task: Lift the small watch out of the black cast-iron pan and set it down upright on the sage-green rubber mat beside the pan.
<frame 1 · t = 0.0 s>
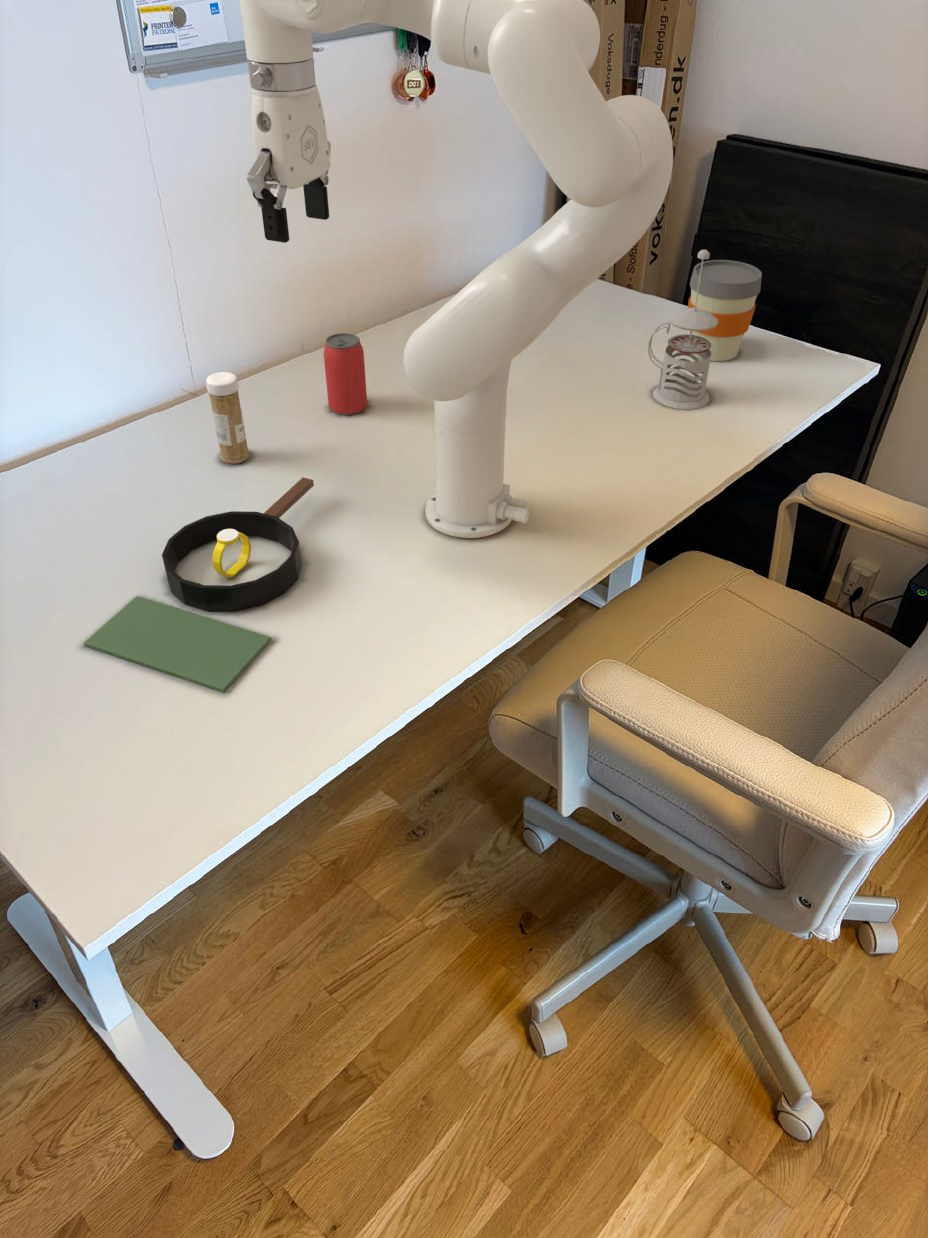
hand: (298, 228, 121), 37 cm above the table, tool pointing down, fingers open, 9 cm apart
sprinkles bottle: (235, 458, 150), on the table
french press: (675, 396, 166), on the table
beer can: (348, 408, 163), on the table
mat: (178, 643, 115), on the table
watch: (235, 572, 127), resting in pan
pan: (235, 571, 127), on the table
reusable coffee cup: (713, 351, 181), on the table
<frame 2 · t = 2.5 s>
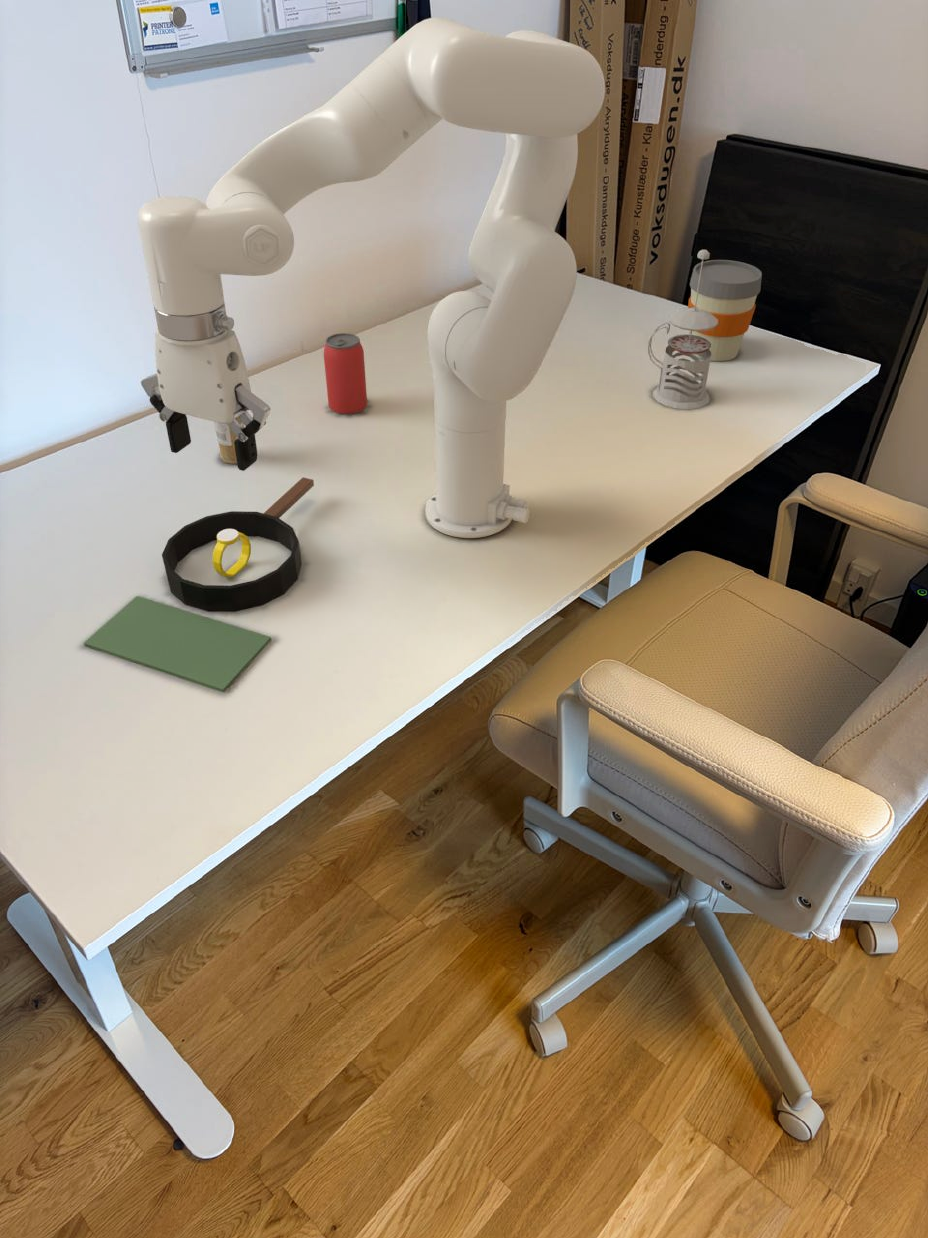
hand: (214, 456, 116), 17 cm above the table, tool pointing down, fingers open, 9 cm apart
nothing on the table moved.
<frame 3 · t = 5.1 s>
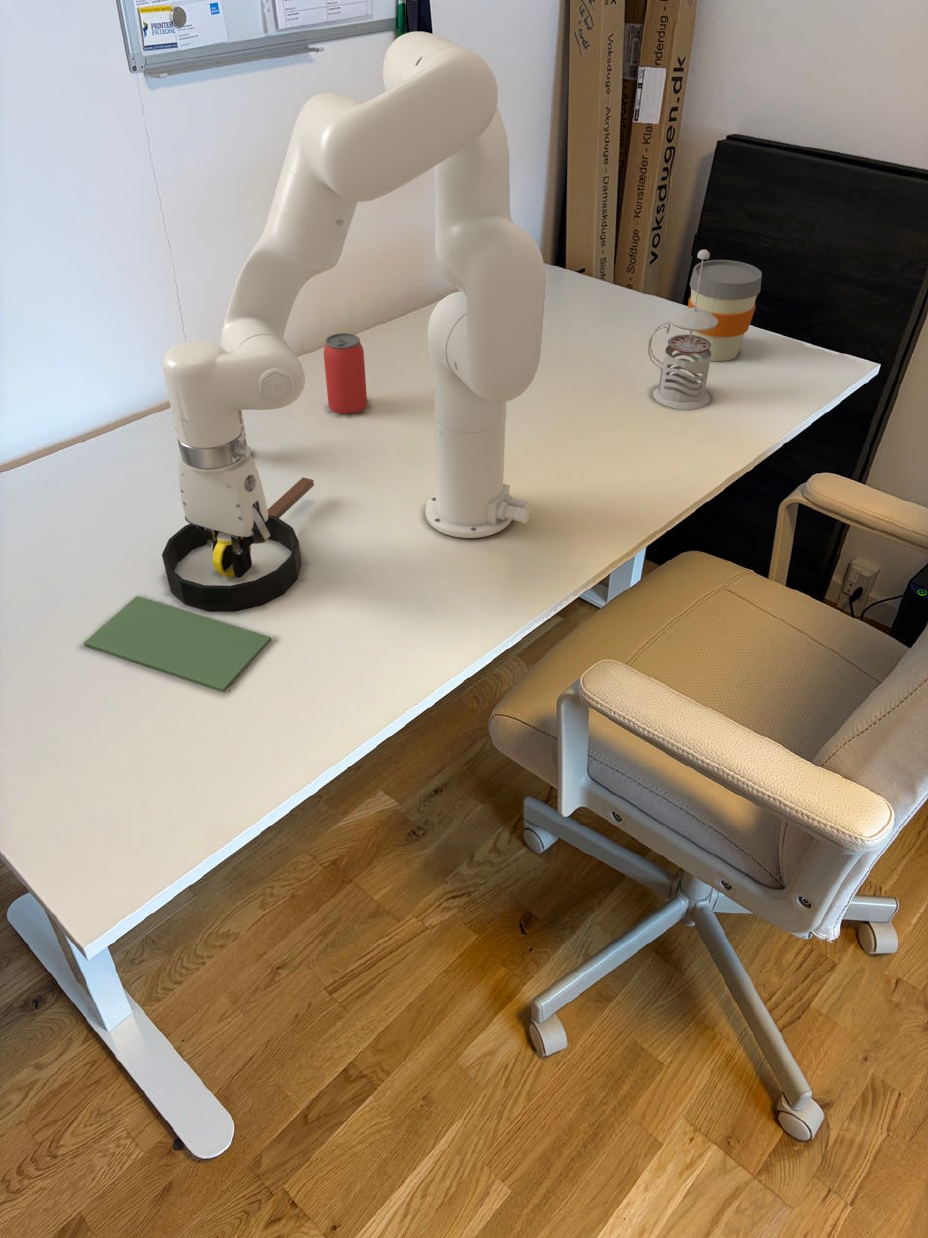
hand: (234, 569, 126), 0 cm above the table, tool pointing down, fingers closed on watch, 2 cm apart
watch: (235, 572, 127), resting in pan, touching gripper
everything else where it was.
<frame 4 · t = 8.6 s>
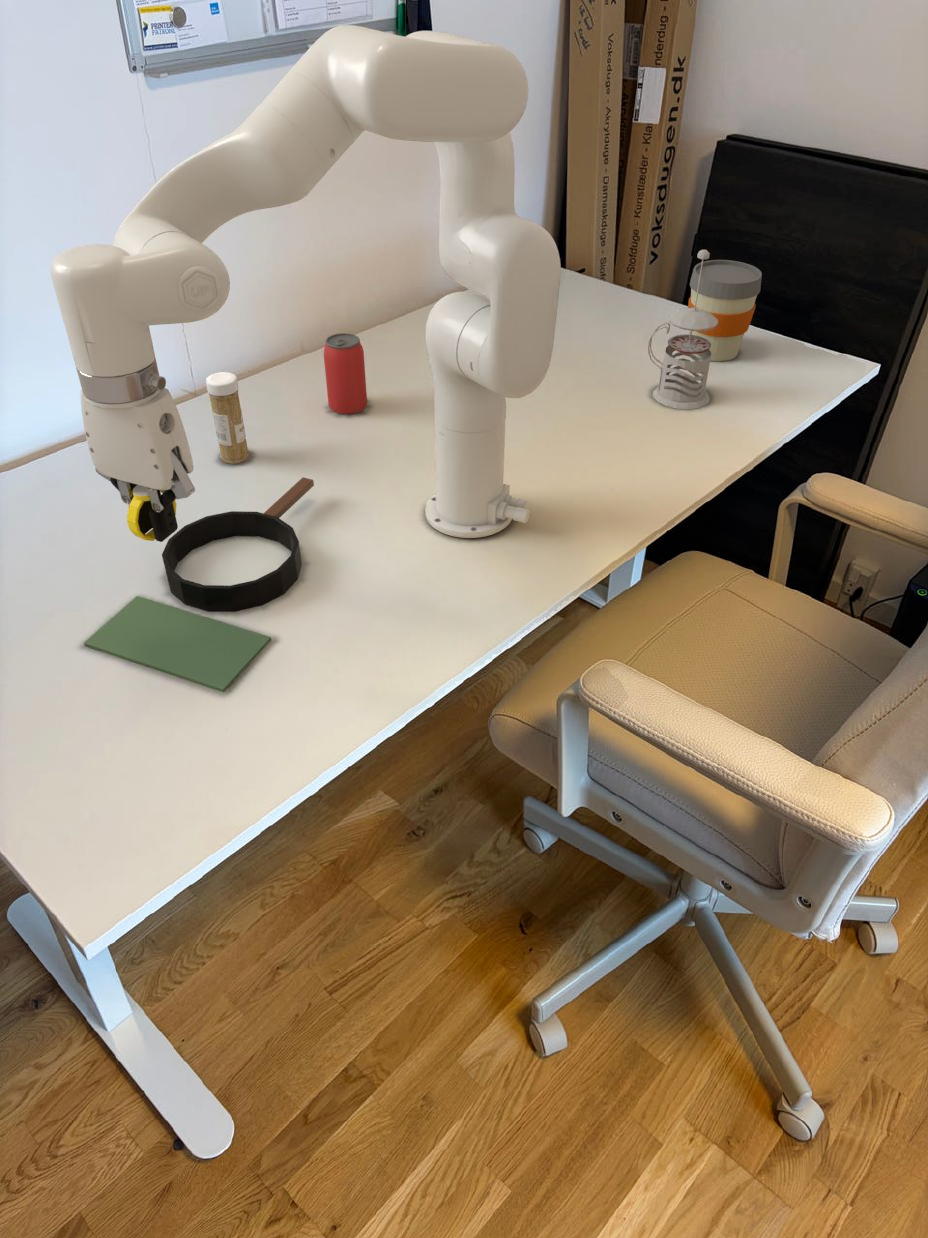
hand: (157, 531, 106), 16 cm above the table, tool pointing down, fingers closed on watch
watch: (157, 535, 107), point 15 cm above the table, touching gripper
everything else where it was.
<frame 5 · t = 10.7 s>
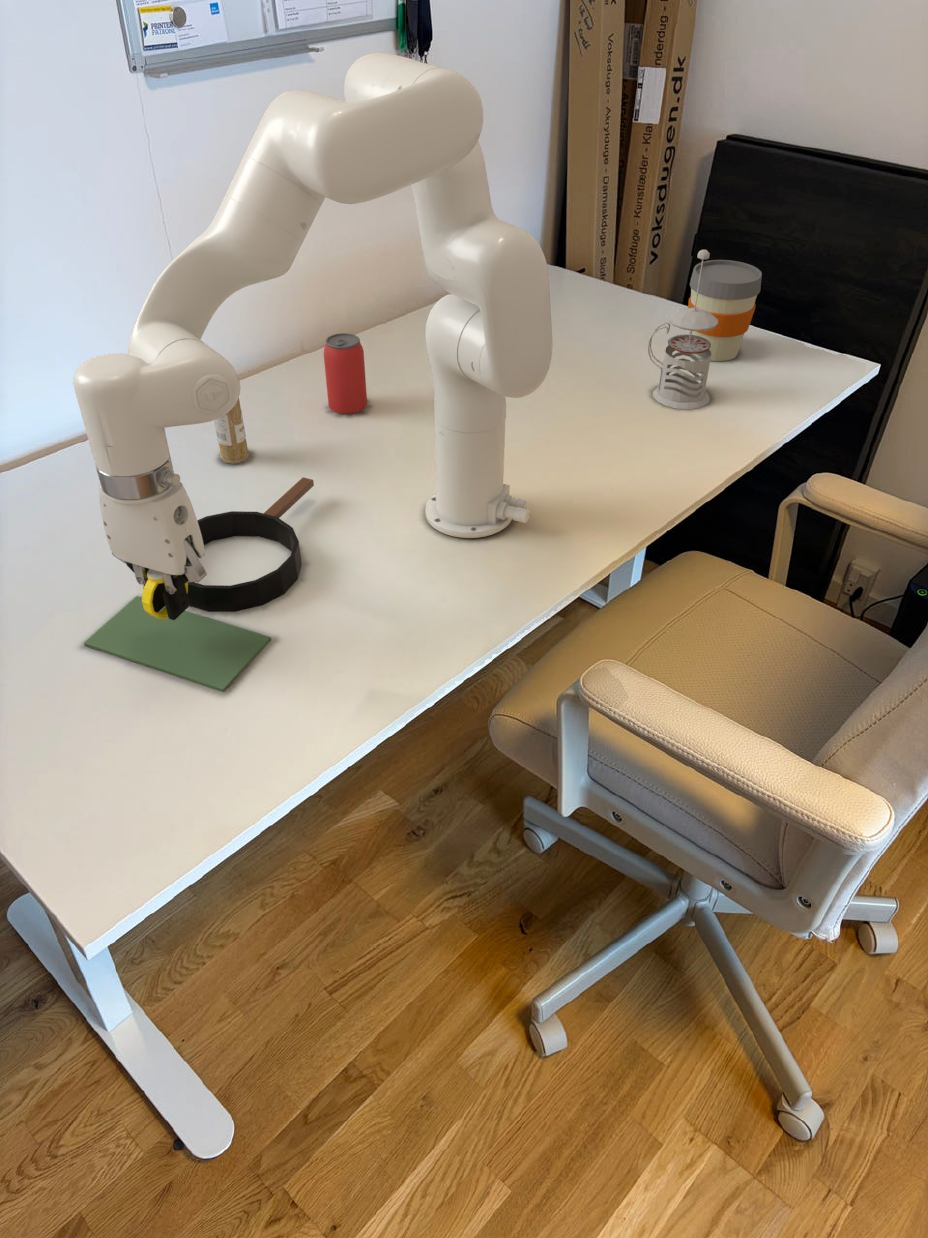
hand: (169, 609, 112), 5 cm above the table, tool pointing down, fingers closed on watch
watch: (170, 612, 112), point 5 cm above the table, touching gripper
everything else where it was.
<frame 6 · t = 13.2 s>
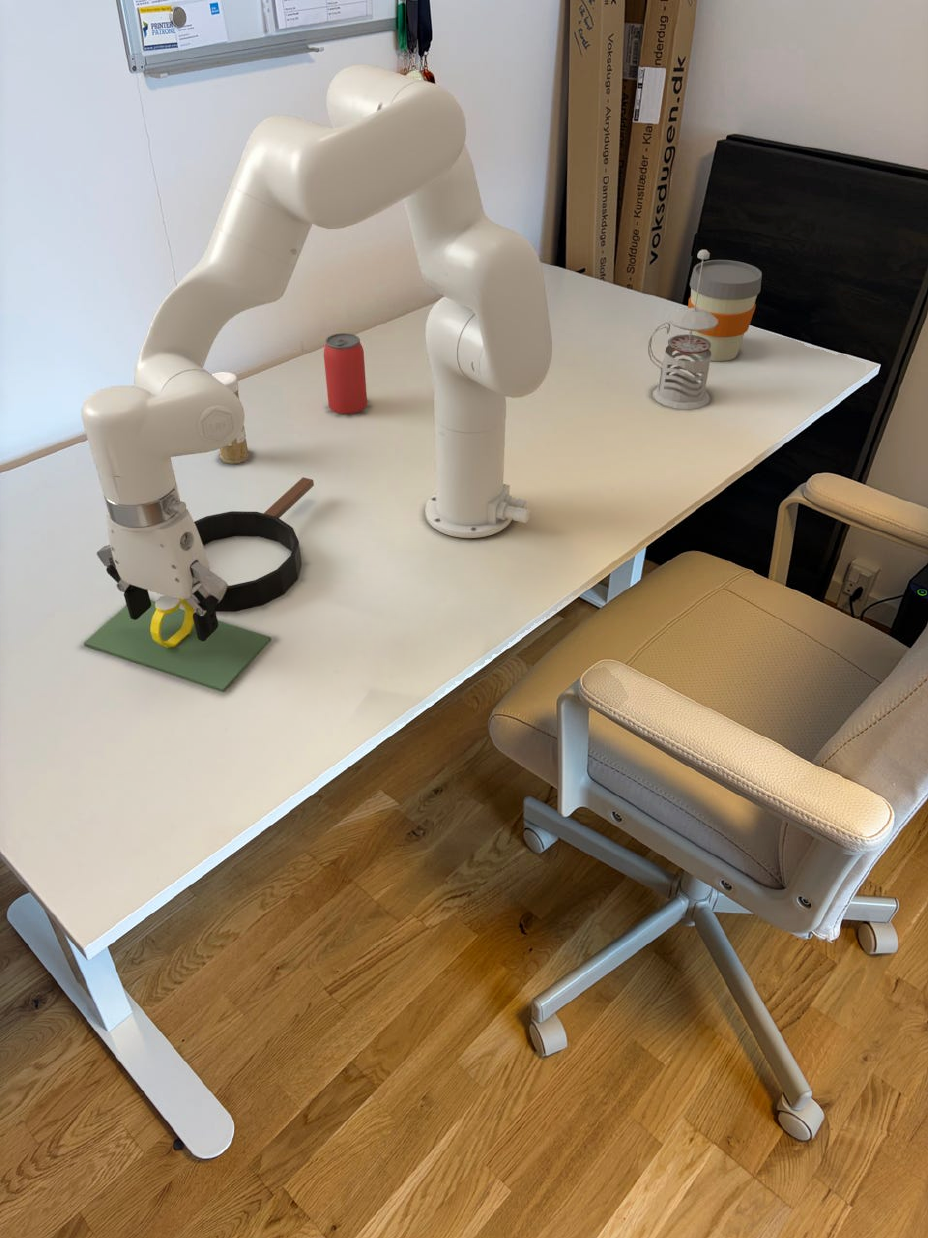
hand: (174, 623, 113), 3 cm above the table, tool pointing down, fingers open, 9 cm apart
watch: (177, 640, 115), resting on mat
everything else where it was.
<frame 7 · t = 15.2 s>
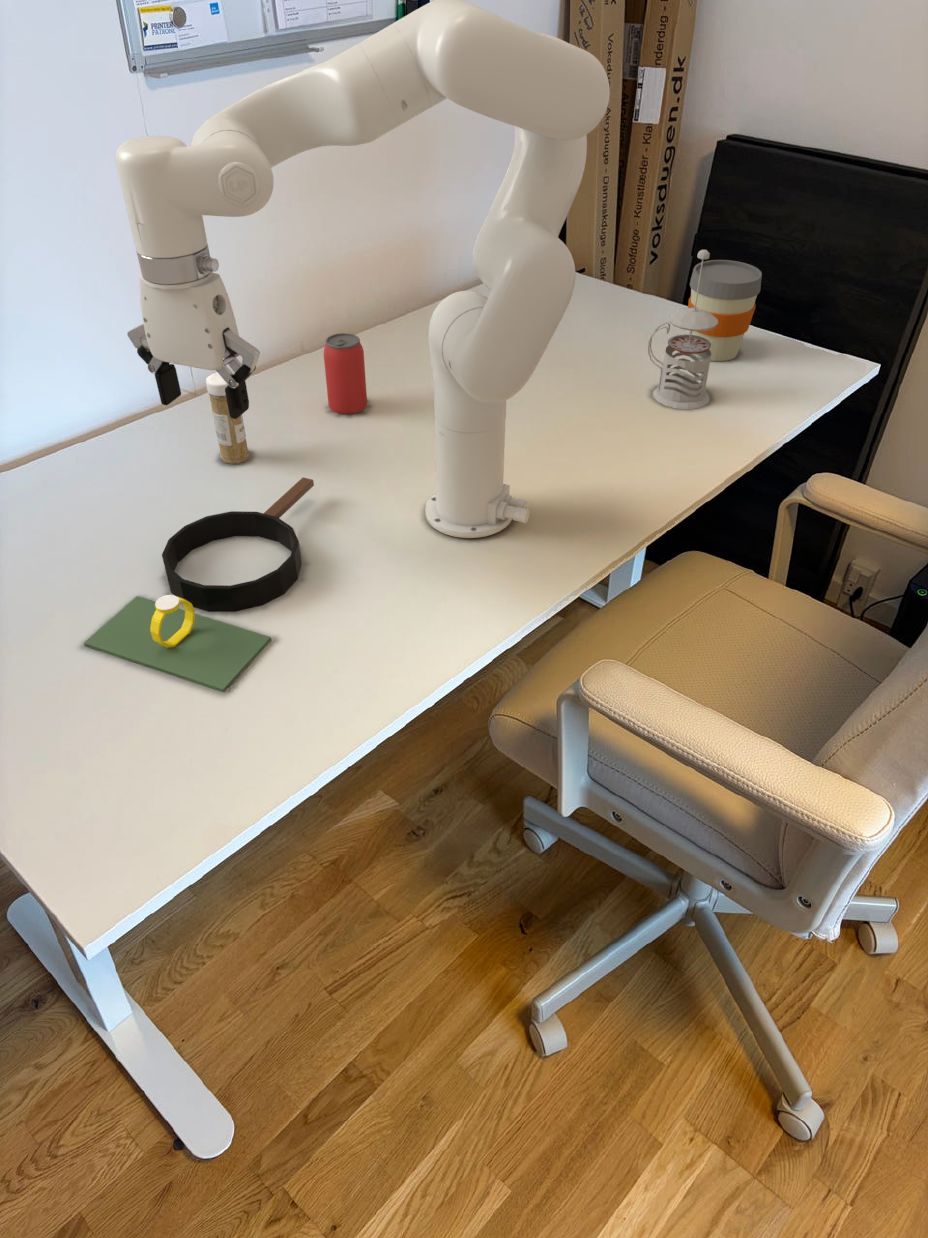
hand: (205, 406, 115), 22 cm above the table, tool pointing down, fingers open, 9 cm apart
nothing on the table moved.
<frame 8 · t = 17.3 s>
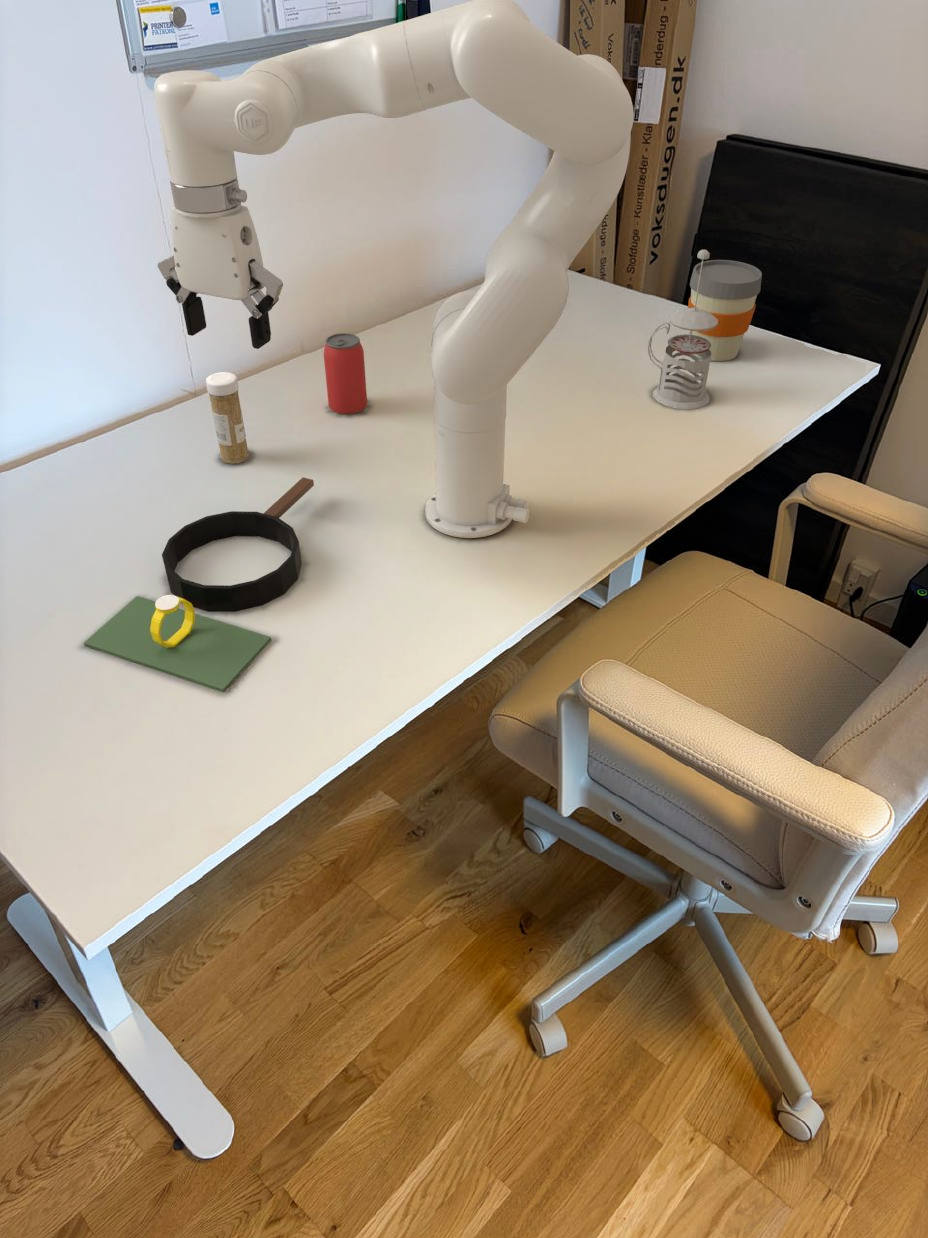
hand: (229, 337, 121), 26 cm above the table, tool pointing down, fingers open, 9 cm apart
nothing on the table moved.
at the end: watch inside the target area on the mat (0.0 cm from its centre), point 0.3 cm above the mat's base; watch tilted 0°; the gripper is holding nothing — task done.
